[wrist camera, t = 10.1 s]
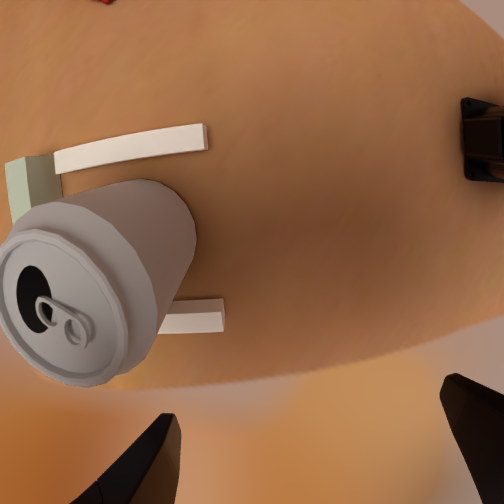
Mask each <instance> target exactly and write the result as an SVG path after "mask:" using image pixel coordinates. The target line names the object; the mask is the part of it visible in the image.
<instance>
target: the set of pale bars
mask: <svg viewBox="0 0 504 504" xmlns="http://www.w3.org/2000/svg"><path fill="white" fill-rule="evenodd" d="M204 150H208V139H207V127H206V126H205V125H204V124H202V123H201V124H192V125H185V126H177V127H170V128H164V129H157V130H151V131H145V132H140V133H134V134H129V135H124V136H119V137H114V138H109V139H104V140H100V141H95V142H91V143H87V144H83V145H79V146H75V147H71V148H67V149H63V150H60V151H56V152H54V155H40V156H27V157H23V158H20V159H17V160H14V161H11V162H8V163H5V171H6V181H7V189H8V197H9V204H10V210H11V216H12V222H13V226H14V224H15V222H16V220H18V219H19V218H20V217H21V216H23V215H24V214H25V213H26V212H28V211H29V210H30V209H32V208H33V207H34V206H37V205H41V204H44V203H47V202H50V201H53V200H57V199H60V198H63V195H62V187H61V179H60V174H62V173H68V172H74V171H78V170H83V169H88V168H93V167H98V166H103V165H108V164H113V163H119V162H125V161H130V160H136V159H143V158H149V157H156V156H163V155H170V154H178V153H186V152H195V151H204ZM224 325H225V310H224V301H223V298H221V299H203V300H184V301H172V303H171V305H170V308H169V310H168V312H167V314H166V316H165V318H164V320H163V323H162V325H161V327H160V329H159V331H158V334H179V333H208V332H224Z"/></svg>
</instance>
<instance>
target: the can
mask: <svg viewBox="0 0 504 504" xmlns="http://www.w3.org/2000/svg"><path fill="white" fill-rule="evenodd" d="M196 242H197V238H196V230H195V223H194V220H193V218H192V216H191V214H190V211H189V209H188V207H187V205H186V204H185V203H184V202H183V200H182V199H181V198H180V197H179V196H178V195H177V194H176V193H175V192H174V191H173V190H171V189H170V188H168V187H166V186H164V185H163V184H161V183H159V182H156V181H151V180H146V179H134V180H128V181H123V182H119V183H115V184H111V185H107V186H103V187H99V188H95V189H92V190H88V191H84V192H81V193H77V194H74V195H70V196H67V197H63V198H60V199H57V200H53V201H50V202H47V203H44V204H41V205H37V206H34V207H33V208H32V209H30V210H29V211H28V212H26V213H25V214H24V215H23V216H21V217H20V218H19V219H18V220H16V222H15V224H14V226H13V227H12V229H11V231H10V233H9V235H8V236H7V238H6V240H5V241H4V242H3V243H2V244H1V246H0V325H1V327H2V329H3V331H4V333H5V334H6V336H7V337H8V339H9V341H10V342H11V344H12V345H13V347H14V348H15V349H16V350H17V351H18V352H19V353H20V355H21V356H22V357H23V358H24V359H25V360H26V361H27V362H28V363H29V364H30V365H31V366H33V367H34V368H36V369H37V370H38V371H40V372H41V373H43V374H44V375H46V376H47V377H49V378H51V379H54V380H56V381H59V382H61V383H64V384H66V385H70V386H78V387H87V388H89V387H93V386H97V385H101V384H105V383H107V382H108V381H109V380H111V379H112V378H113V377H114V376H116V375H119V374H123V373H127V372H129V371H130V370H131V369H133V368H134V367H135V366H136V365H138V364H139V363H140V362H141V361H143V360H144V359H145V357H146V355H147V353H148V351H149V349H150V348H151V346H152V344H153V342H154V340H155V338H156V336H157V334H158V331H159V329H160V327H161V325H162V323H163V320H164V318H165V316H166V314H167V312H168V310H169V308H170V305H171V303H172V301H173V299H174V297H175V295H176V293H177V291H178V289H179V286H180V284H181V282H182V280H183V278H184V276H185V274H186V272H187V270H188V268H189V266H190V264H191V262H192V260H193V258H194V253H195V247H196Z"/></svg>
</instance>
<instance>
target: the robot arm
mask: <svg viewBox="0 0 504 504" xmlns="http://www.w3.org/2000/svg"><path fill="white" fill-rule="evenodd" d="M467 103H468V105H467ZM461 104H462V114H463V126H464V145H465V176H466V178H467V179H468V180H472V181H486V182H500V183H504V106H498V105H495V104H491V103H488V102H484V101H480V100H477V99H473V98H469V97H466V98H463V99H462V102H461ZM470 172H471V173H472V174H471V176H470ZM440 400H441V403H442V406H443V408H444V411H445V414H446V417H447V420H448V422H449V425H450V428H451V431H452V433H453V435H454V438H455V440H456V442H457V444H458V446H459V448H460V450H461V452H462V455H463V457H464V459H465V462H466V464H467V466H468V469H469V471H470V473H471V476H472V478H473V480H474V483H475V485H476V488H477V490H478V493H479V495H480V498H481V500H482V503H483V504H504V395H503V394H501V393H499V392H497V391H494V390H492V389H490V388H488V387H486V386H483V385H481V384H479V383H477V382H475V381H473V380H470V379H469V378H466V377H464V376H462V375H460V374H458V373H453V374H450V375H447V376H446V377H445V379H444V382H443V385H442V388H441V390H440ZM180 450H181V429H180V427H179V424H178V421H177V418H176V416H175V414H173V413H162V414H160V415H159V416H158V418H156V420H155V421H154V422H153V423H152V424H151V425H150V426H149V427H148V428H147V429H146V430H145V431H144V432H143V433H142V434H141V436H139V437H138V438H137V439H136V440H135V442H134V443H133V444H132V445H131V446H130V447H129V448H128V449H127V450H126V451H125V452H124V453H123V454H122V455H121V456H120V457H119V458H118V459H117V460H116V461H115V462H114V463H113V464H112V465H111V466H110V467H109V468H108V469H107V470H106V471H105V472H104V473H103V474H102V475H101V476H100V477H99V478H98V479H97V481H95V482H94V483H93V484H92V485H91V486H90V487H89V488H87V489H86V490H85V491H84V492H83V493H82V494H81V495H80V496H79V497H78V498H76V499H75V500H74V501H72V502H71V503H70V504H174V503H175V497H176V491H177V486H178V479H179V470H180Z"/></svg>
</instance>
